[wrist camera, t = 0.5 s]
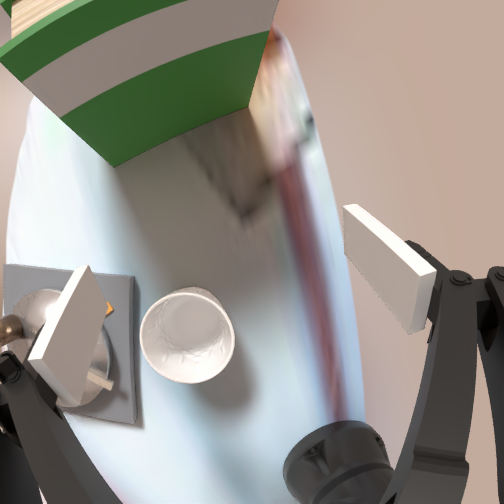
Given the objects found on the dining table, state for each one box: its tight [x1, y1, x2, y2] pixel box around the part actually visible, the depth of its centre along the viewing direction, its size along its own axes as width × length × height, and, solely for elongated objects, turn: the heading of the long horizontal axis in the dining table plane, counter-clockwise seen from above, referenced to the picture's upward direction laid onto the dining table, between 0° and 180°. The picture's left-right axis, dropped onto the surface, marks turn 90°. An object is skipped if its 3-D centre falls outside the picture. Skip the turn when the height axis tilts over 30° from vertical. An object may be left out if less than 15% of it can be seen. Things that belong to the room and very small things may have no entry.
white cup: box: [140, 286, 235, 384], centre depth 29 cm, size 8×8×10 cm
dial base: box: [3, 264, 137, 424], centre depth 31 cm, size 18×18×2 cm
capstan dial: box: [0, 288, 114, 407], centre depth 25 cm, size 16×14×9 cm
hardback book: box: [0, 0, 279, 167], centre depth 22 cm, size 18×7×24 cm, turn 116°
